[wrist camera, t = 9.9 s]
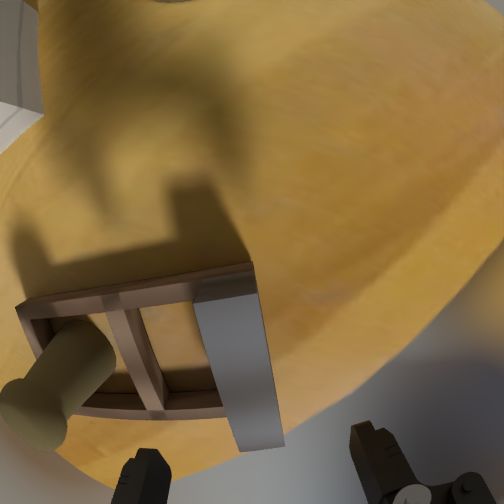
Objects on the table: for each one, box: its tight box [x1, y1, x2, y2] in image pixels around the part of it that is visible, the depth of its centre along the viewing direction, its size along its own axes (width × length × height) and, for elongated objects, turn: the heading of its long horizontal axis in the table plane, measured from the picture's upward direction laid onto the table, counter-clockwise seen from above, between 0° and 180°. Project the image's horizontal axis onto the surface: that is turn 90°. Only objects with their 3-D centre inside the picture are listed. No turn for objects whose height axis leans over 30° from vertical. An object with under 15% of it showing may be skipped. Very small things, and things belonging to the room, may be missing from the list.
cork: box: [0, 320, 116, 452], centre depth 15 cm, size 6×6×11 cm
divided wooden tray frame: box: [15, 262, 285, 452], centre depth 17 cm, size 11×20×6 cm, turn 100°
